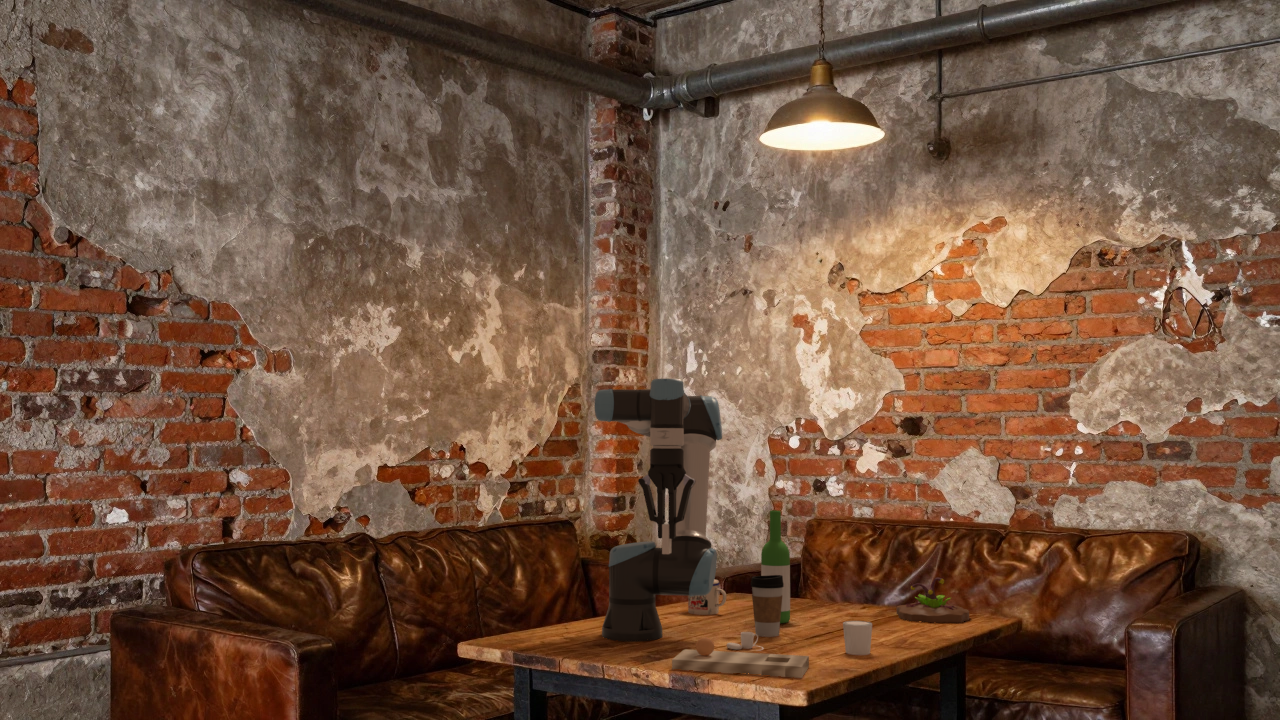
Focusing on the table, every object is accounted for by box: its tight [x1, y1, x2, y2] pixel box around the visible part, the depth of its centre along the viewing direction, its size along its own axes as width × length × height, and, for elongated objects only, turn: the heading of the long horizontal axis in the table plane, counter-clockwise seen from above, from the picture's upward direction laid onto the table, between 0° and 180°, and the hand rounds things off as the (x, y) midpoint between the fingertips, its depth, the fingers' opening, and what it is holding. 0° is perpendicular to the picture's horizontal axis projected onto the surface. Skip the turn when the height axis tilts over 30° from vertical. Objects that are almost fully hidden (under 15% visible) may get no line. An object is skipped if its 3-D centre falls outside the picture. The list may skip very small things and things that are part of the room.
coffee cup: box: [750, 575, 784, 638], centre depth 294 cm, size 8×8×15 cm
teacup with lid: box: [687, 579, 727, 616], centre depth 328 cm, size 12×9×12 cm
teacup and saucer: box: [726, 631, 765, 652], centre depth 276 cm, size 9×8×4 cm
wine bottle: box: [760, 509, 791, 624], centre depth 315 cm, size 8×8×30 cm
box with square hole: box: [671, 648, 810, 679], centre depth 252 cm, size 28×12×2 cm, turn 75°
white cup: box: [842, 620, 873, 656], centre depth 271 cm, size 7×7×7 cm
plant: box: [896, 577, 970, 624], centre depth 324 cm, size 20×20×11 cm
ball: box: [695, 636, 715, 656], centre depth 254 cm, size 4×4×4 cm
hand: (666, 553), depth 258 cm, fingers closed
